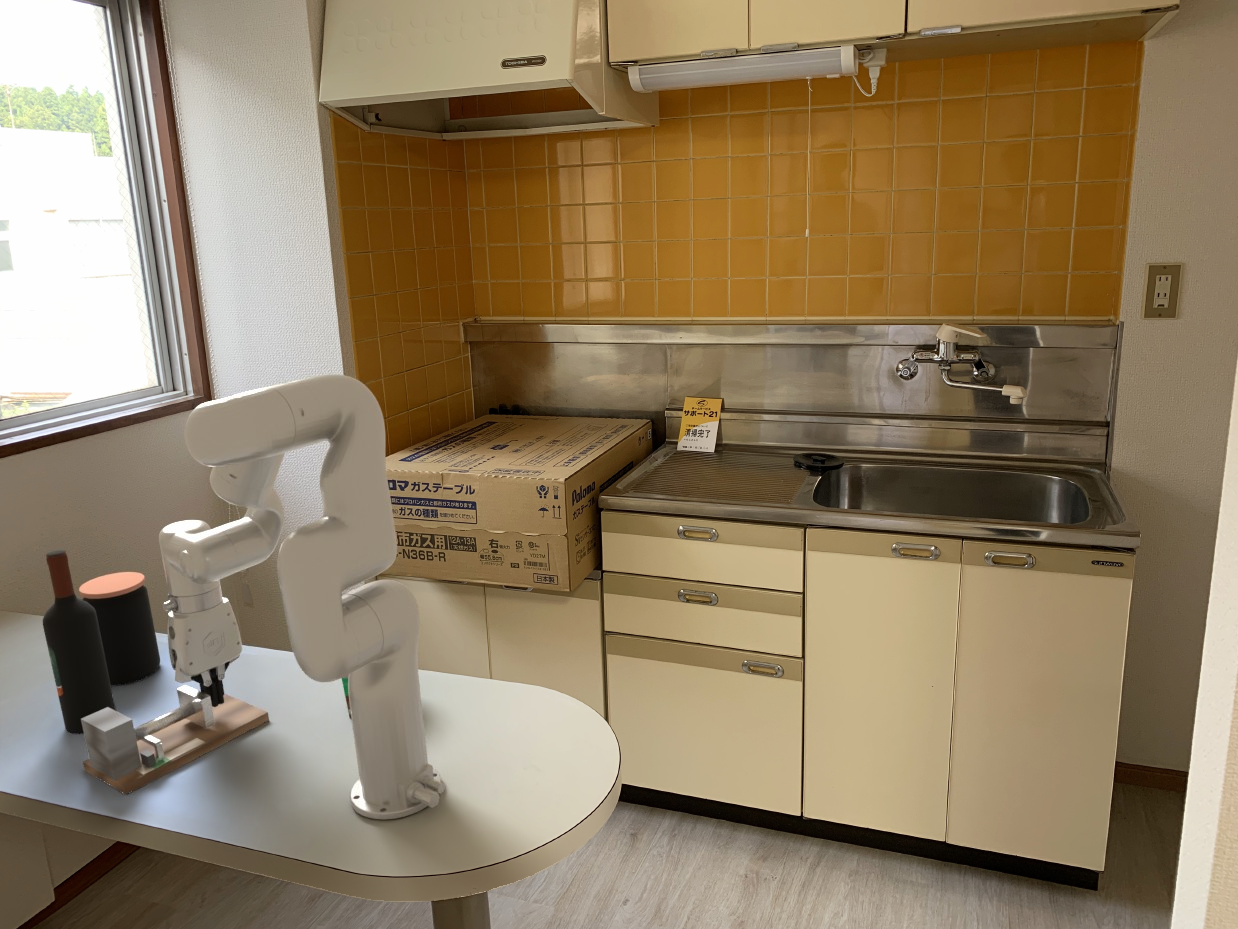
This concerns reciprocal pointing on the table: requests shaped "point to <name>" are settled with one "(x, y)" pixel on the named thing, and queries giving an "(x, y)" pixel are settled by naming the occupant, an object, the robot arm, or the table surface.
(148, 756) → the dark grey small block
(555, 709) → the table surface
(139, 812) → the table surface
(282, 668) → the table surface
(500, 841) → the table surface
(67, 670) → the wine bottle
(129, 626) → the coffee jar
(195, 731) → the gauge board
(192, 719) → the plunger
